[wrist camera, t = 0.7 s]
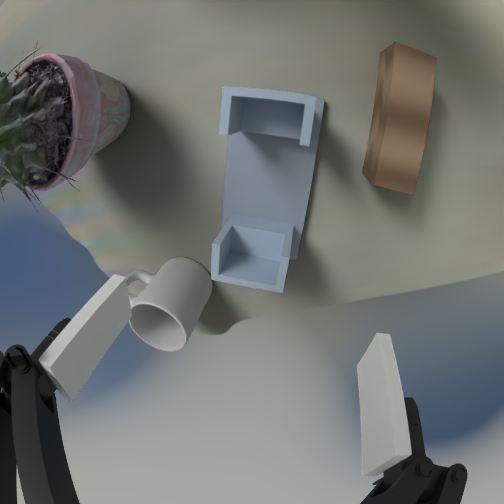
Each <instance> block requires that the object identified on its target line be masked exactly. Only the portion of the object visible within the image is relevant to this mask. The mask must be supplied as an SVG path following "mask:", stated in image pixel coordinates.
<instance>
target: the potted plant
mask: <svg viewBox="0 0 504 504" xmlns="http://www.w3.org/2000/svg"><path fill="white" fill-rule="evenodd" d="M37 43H38V42H37ZM36 46H37V45H36ZM39 49H40V48H39ZM35 50H36V49H35ZM36 51H37V50H36ZM36 51H35V52H36ZM33 53H34V52H33ZM33 53H32V54H33ZM22 54H23V53H22ZM32 54H30V55H32ZM34 54H35V53H34ZM30 55H29V56H30ZM29 56H28V57H29ZM28 57H26V58H25V59H27V58H28ZM25 59H24V60H25ZM24 60H23V61H24ZM23 61H21V62H20V63H22V62H23ZM20 63H19V64H20ZM19 64H18V65H19ZM18 65H17V66H18ZM17 66H16V67H17ZM16 67H14V68H16ZM14 68H13V69H14ZM19 68H20V67H19ZM13 69H12V70H13ZM12 70H11V71H12ZM11 71H10V72H11ZM10 72H9V73H10ZM15 72H16V73H17V75H15V78H14V80H13V82H11V83H9V82H8V79H7V76H8V75H9V73H8V74H6V73H4V72H3V73H2V74H1V72H0V190H1V188H2V187H3V186H4V185H5V184H7V183H12V184H14V185H15V186H16V187H17V188H19V189H20V190H21V191H22V192H23V193H24V194H25V195H26V197H27V198H29V196H28V195H27V193H26V192H28V191H27V190H26V189H25V186H28V187H29V188H30V189H31V190H32V191H33V190H38V191H46V190H48V189H50V188H53V187H55V186H57V185H58V184H60V183H62V182H63V181H65V180H68V179H70V177H72V176H73V175H74V174H75V173H77V172H78V171H79V170H80V169H82V168H83V166H84V165H85V164H86V162H87V160H88V159H89V158H90V157H91V156H93V155H94V154H96V153H97V152H98V151H100V150H101V149H102V148H104V147H105V146H107V145H108V144H110V143H111V142H113V141H114V140H116V139H117V138H118V136H119V135H120V134H121V133H122V132H123V131H124V130H125V127H126V125H127V123H128V121H129V119H130V107H131V104H130V98H129V95H128V93H127V90H126V88H125V86H124V85H123V84H122V83H120V82H119V81H117V80H116V79H114V78H112V77H110V76H107V75H105V74H103V73H101V72H98V71H96V70H93V69H91V67H90V66H89V65H88V64H87V63H85V62H84V61H82V60H80V59H78V58H76V57H71V56H65V55H59V54H50V53H45V54H43V55H40V56H38V57H35V58H34V57H33V59H32V60H31V61H30V62H29V63H28V64H27V65H25V66H24V67H23V68H22V69H21V70H20V71H17V70H15ZM71 180H73V179H71ZM74 181H75V180H74ZM68 182H69V181H68ZM77 182H78V181H77ZM69 183H70V182H69ZM80 183H81V182H80ZM70 184H71V183H70ZM71 186H72V185H71ZM73 187H74V186H73ZM74 188H75V187H74ZM77 190H78V189H77ZM28 193H29V192H28ZM33 193H34V191H33ZM29 194H30V193H29ZM34 194H35V193H34ZM30 195H31V194H30ZM31 196H32V195H31ZM35 196H36V195H35ZM32 197H33V196H32ZM36 197H37V196H36ZM34 199H35V198H34ZM29 200H30V198H29ZM30 201H31V200H30Z"/></svg>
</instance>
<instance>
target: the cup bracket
mask: <svg viewBox="0 0 504 504" xmlns="http://www.w3.org/2000/svg"><path fill="white" fill-rule="evenodd" d="M324 100H325V99H320V98H316V96H311V95H305V94H299V93H292V92H284V91H276V90H267V89H257V88H245V87H227V86H223V92H222V102H221V113H220V124H219V135H228V145H227V157H226V170H225V183H224V196H223V211H222V227H221V231H220V233H219V234H218V236H217V237H216V239H215V240H214V241H213V243H212V258H211V280H215V281H220V282H225V283H230V284H235V285H240V286H246V287H251V288H256V289H261V290H267V291H272V292H278V293H282V292H283V288H284V283H285V278H286V273H287V268H288V263H289V259H291V260H297V255H298V250H299V245H300V240H301V235H302V230H303V225H304V220H305V215H306V210H307V205H308V199H309V194H310V188H311V183H312V177H313V171H314V165H315V159H316V153H317V147H318V141H319V134H320V128H321V121H322V114H323V107H324Z"/></svg>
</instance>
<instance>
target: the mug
mask: <svg viewBox="0 0 504 504" xmlns="http://www.w3.org/2000/svg"><path fill="white" fill-rule="evenodd" d="M135 280H141V281H143V282H145V283H146V284H147V286H146V287H145V289H144V290H143V291H142V292H141V293H140V294H139V295H138V296H135V295H132V294H130V293H128V295H129V301H130V306H131V312H132V316H131V318H130V319H129V323H130V325H131V327H132V329H133V330H134V332H135V333H136V334H137V335H138V336H139V337H140V338H141V339H142V340H143V341H144V342H146V343H147V344H149V345H151V346H153V347H155V348H157V349H160V350H164V351H177V350H180V349H181V348H183V347H184V346H185V345H186V343H187V341H188V339H189V337H190V335H191V333H192V331H193V329H194V327H195V325H196V323H197V321H198V319H199V317H200V315H201V313H202V311H203V309H204V307H205V305H206V303H207V301H208V299H209V297H210V295H211V293H212V280H211V277H210V275H209V273H208V272H207V271H206V269H205V268H204V267H203V266H202V265H201V264H199V263H198V262H196V261H194V260H192V259H189V258H185V257H175V258H172V259H170V260H168V261H167V262H166V263H165V264H164V265H163V266H162V267H161V269H160V270H159V271H158V272H157V273H156V274H155V275H153V274H151V273H148V272H146V271H142V270H136V271H133V272H131V273H130V274H129V275H127V276H126V283H127V286H128V285H129V284H130V283H131V282H133V281H135Z"/></svg>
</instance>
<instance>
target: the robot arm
mask: <svg viewBox="0 0 504 504" xmlns="http://www.w3.org/2000/svg"><path fill="white" fill-rule="evenodd" d="M131 316H132V312H131V306H130V301H129V295H128V289H127V283H126V277H122V276H119V275H116V274H114V275H113V276H112V277H111V278H110V279H109V280H108V281H107V282H106V283H105V284H104V285H103V286H102V287H101V288H100V290H99V291H98V292H97V293H96V294H95V295H94V296H93V297H92V298H91V299H90V300H89V301H88V302H87V303H86V304H85V306H84V307H83V308H82V309H81V310H80V311H79V312H78V313H77V314H76V316H75V317H74V318H73V319H72V320H71V319H69V318H66V319H64V320H62V321H61V322H59V323H58V324H57V325H56V326H55V328H54V329H53V331H51V332H50V333H49V334H48V336H47V337H46V338H45V339H44V340H43V341H42V342H41V344H40V345H39V346H38V347H37V348H36V350H35V351H34V352H33V353H32V354H31V355H29V354H28V352H27V350H26V349H25V347H24V346H22V345H13V346H11V347H10V348H8V350H7V351H6V352H5V356H4V355H3V353H2V352H1V351H0V392H1V388H3V389H2V392H1V393H0V504H17V491H16V468H18V473H19V478H20V483H21V487H22V492H23V496H24V499H25V503H26V504H80V503H79V500H78V497H77V494H76V491H75V488H74V485H73V482H72V479H71V474H70V471H69V467H68V463H67V459H66V455H65V451H64V446H63V441H62V436H61V430H60V425H59V418H58V412H57V404H56V397H55V393H54V392H55V390H56V389H57V390H58V391H59V393H60V394H61V395H62V396H63V397H65V398H67V399H68V400H70V401H72V402H73V401H74V399H75V398H76V396H77V395H78V393H79V391H80V390H81V388H82V387H83V385H84V384H85V382H86V381H87V379H88V378H89V376H90V375H91V373H92V372H93V370H94V369H95V367H96V366H97V364H98V363H99V361H100V360H101V359H102V357H103V356H104V354H105V353H106V351H107V350H108V348H109V347H110V346H111V344H112V343H113V341H114V340H115V338H116V337H117V336H118V334H119V333H120V331H121V330H122V329H123V327H124V326H125V324H126V323H127V322H128V321H129V319H130V318H131ZM357 375H358V387H359V400H360V417H361V443H362V445H361V446H362V476H377V475H379V474H381V473H382V472H384V477H383V478H381V479H379V480H377V481H376V482H374V483H373V485H376V484H377V485H376V486H375V487H374V489H373V490H372V491H371V492H370V493H369V494H368V495H367V497H366V498H365V499H364V500H363V501H362V502H361V503H360V504H460V502H461V499H462V495H463V492H464V488H465V484H466V481H467V470H466V468H465V467H464V466H463V465H462V464H455V465H452V466H451V467H449V468H448V467H443V466H438V465H435V464H433V462H432V461H431V459H430V458H428V457H426V454H425V449H424V442H423V435H422V429H421V426H420V424H421V422H420V418H419V411H418V407H417V405H416V403H415V401H414V400H413V398H404V396H403V391H402V386H401V381H400V376H399V371H398V367H397V362H396V358H395V354H394V349H393V345H392V341H391V337H390V335H389V334H382V333H376V335H375V337H374V339H373V340H372V342H371V344H370V345H369V347H368V349H367V350H366V352H365V354H364V355H363V357H362V359H361V360H360V362H359V364H358V365H357ZM16 466H17V467H16Z"/></svg>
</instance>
